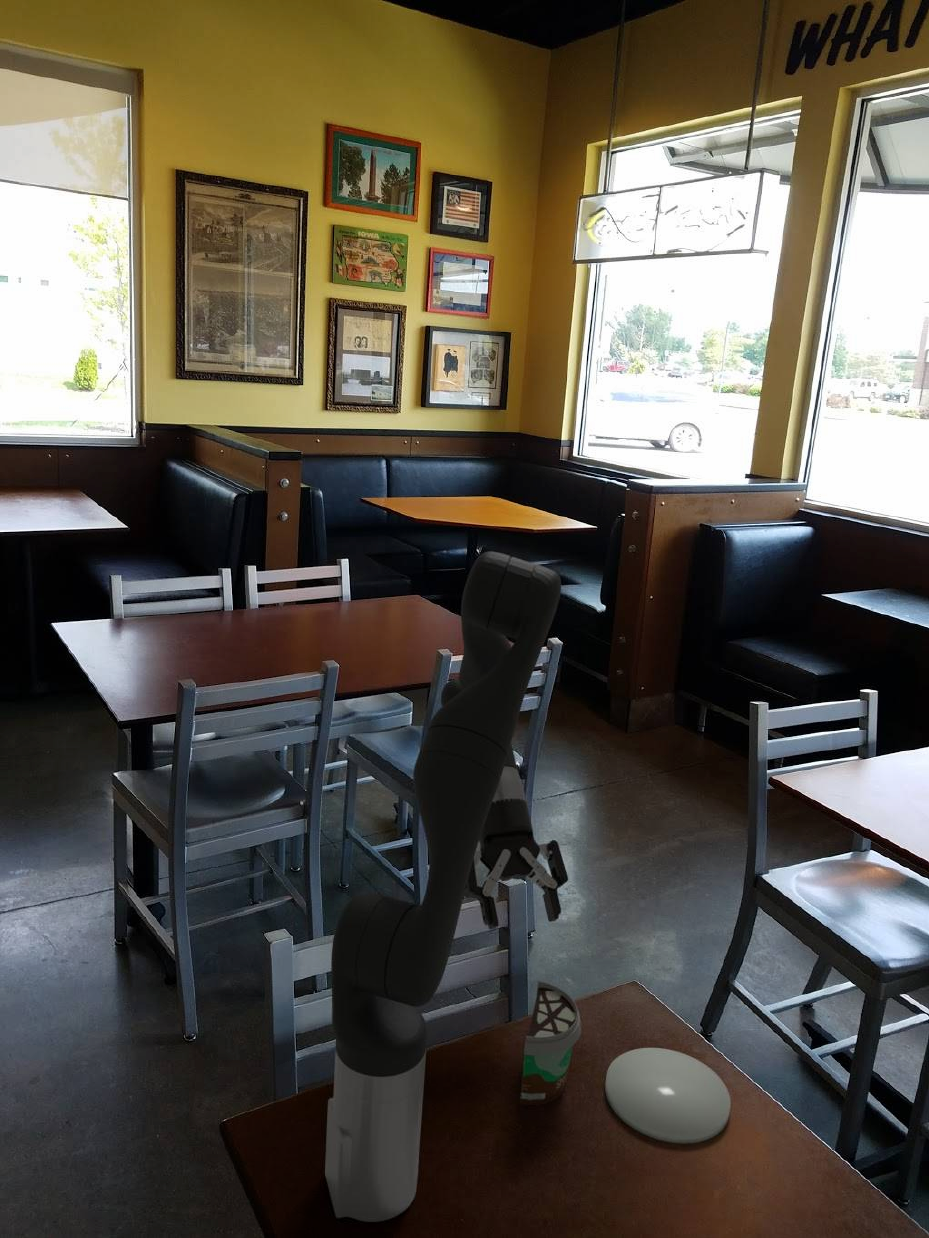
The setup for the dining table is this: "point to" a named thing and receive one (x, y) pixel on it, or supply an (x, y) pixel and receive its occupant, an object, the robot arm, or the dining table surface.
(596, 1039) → the dining table surface
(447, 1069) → the dining table surface
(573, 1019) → the food container
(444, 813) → the robot arm
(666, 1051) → the serving plate
